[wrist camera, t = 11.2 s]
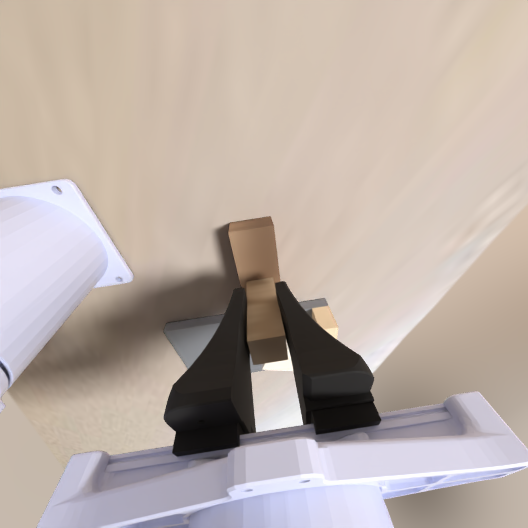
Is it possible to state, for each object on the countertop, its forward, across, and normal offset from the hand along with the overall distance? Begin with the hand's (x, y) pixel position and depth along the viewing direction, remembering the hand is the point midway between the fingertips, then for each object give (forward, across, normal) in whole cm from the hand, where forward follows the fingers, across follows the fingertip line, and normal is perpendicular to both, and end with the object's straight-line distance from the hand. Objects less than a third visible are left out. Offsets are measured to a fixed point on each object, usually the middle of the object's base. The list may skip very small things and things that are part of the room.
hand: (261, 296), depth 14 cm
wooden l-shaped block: (+4, 0, +2) cm, 4 cm away
